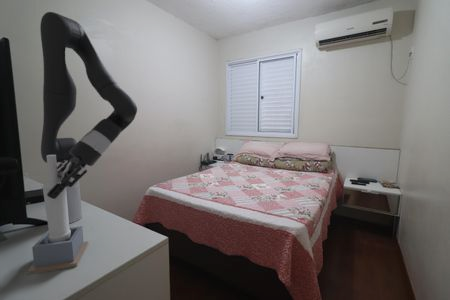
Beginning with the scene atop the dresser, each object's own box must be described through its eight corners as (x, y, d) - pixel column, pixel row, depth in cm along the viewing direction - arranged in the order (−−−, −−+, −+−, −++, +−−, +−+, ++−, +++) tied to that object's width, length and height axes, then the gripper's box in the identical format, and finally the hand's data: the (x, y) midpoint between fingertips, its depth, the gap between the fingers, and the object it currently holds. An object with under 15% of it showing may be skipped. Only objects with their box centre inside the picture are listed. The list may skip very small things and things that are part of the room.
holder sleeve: (48, 249, 66) (45, 229, 65) (88, 244, 69) (86, 224, 68) (28, 274, 56) (25, 250, 55) (76, 266, 59) (74, 243, 58)
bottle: (44, 241, 60) (34, 156, 56) (63, 232, 65) (55, 153, 61) (56, 245, 58) (46, 157, 55) (75, 236, 63) (67, 154, 59)
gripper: (72, 138, 68) (26, 182, 60) (91, 141, 59) (40, 194, 51) (91, 152, 73) (51, 195, 65) (111, 157, 64) (68, 207, 56)
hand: (47, 194), depth 58 cm, fingers closed on bottle, 5 cm apart
